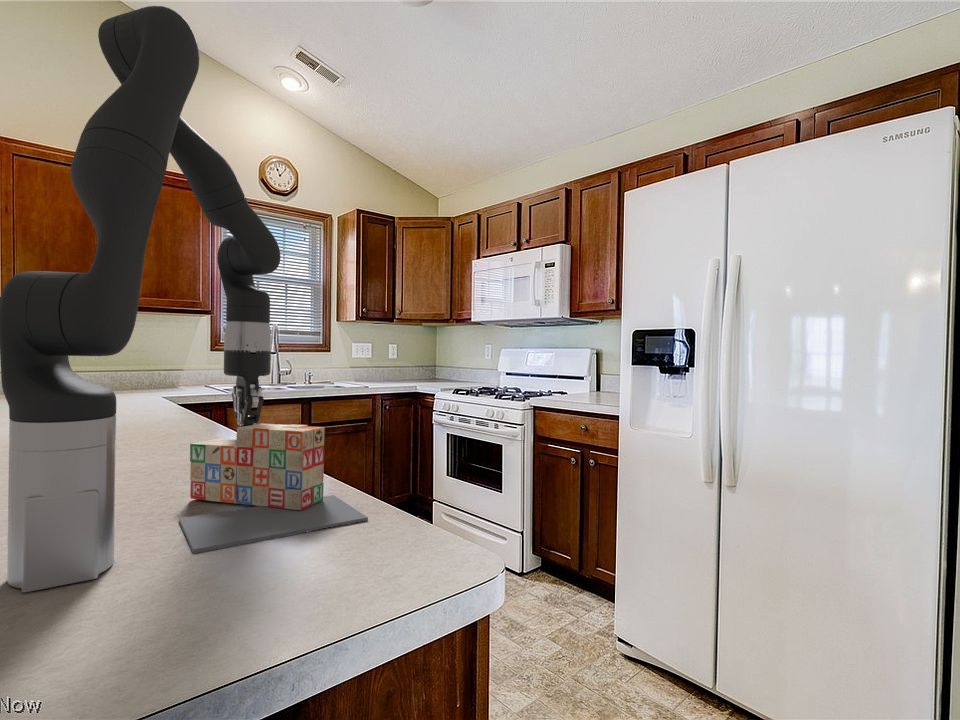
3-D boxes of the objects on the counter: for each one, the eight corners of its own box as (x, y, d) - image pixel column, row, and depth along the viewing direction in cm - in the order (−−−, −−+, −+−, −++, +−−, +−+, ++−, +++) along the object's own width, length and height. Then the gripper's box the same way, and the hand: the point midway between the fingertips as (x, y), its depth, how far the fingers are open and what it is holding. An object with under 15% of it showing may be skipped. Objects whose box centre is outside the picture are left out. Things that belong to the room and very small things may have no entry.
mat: (367, 520, 77) (367, 517, 77) (193, 553, 63) (193, 549, 63) (333, 497, 88) (333, 495, 88) (179, 521, 74) (179, 518, 74)
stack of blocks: (188, 500, 84) (189, 424, 84) (217, 491, 90) (218, 421, 90) (301, 510, 78) (302, 429, 79) (324, 500, 85) (325, 425, 85)
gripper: (217, 347, 93) (215, 442, 94) (232, 348, 83) (230, 455, 83) (260, 348, 98) (259, 439, 98) (280, 349, 87) (278, 451, 87)
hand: (246, 446), depth 91 cm, fingers closed
